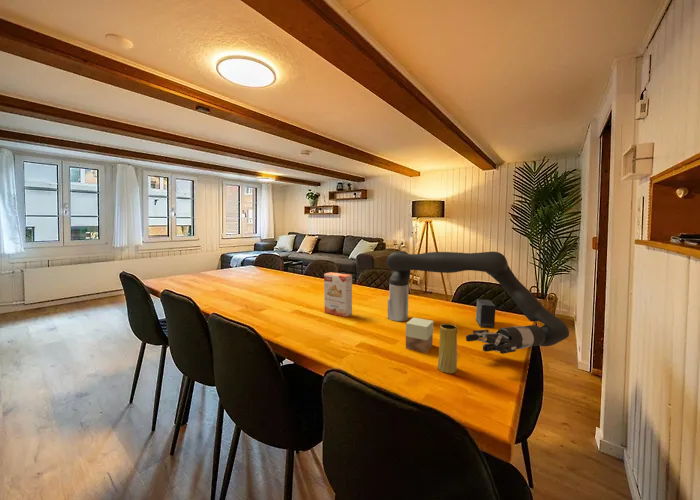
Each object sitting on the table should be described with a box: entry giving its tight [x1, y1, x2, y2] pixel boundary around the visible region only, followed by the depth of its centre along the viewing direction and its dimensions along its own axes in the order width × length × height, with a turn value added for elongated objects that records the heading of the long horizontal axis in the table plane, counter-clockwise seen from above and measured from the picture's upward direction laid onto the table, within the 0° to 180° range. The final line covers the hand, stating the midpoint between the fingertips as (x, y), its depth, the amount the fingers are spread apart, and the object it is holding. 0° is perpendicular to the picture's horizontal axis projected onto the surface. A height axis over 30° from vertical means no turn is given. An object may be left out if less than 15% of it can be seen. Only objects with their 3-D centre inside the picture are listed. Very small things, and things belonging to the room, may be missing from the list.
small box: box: [475, 298, 497, 329], centre depth 142 cm, size 11×6×10 cm, turn 168°
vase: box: [437, 323, 458, 374], centre depth 98 cm, size 6×6×14 cm
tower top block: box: [405, 317, 434, 340], centre depth 116 cm, size 8×8×5 cm
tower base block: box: [405, 333, 434, 353], centre depth 117 cm, size 8×8×5 cm
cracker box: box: [323, 271, 353, 318], centre depth 157 cm, size 14×6×21 cm, turn 55°
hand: (474, 343), depth 101 cm, fingers open, 8 cm apart
